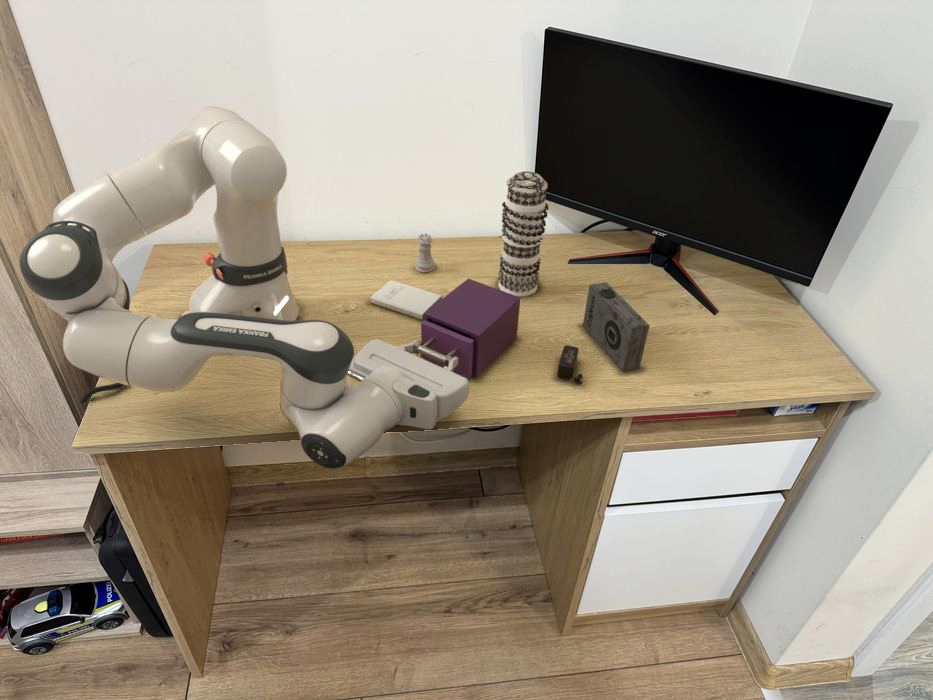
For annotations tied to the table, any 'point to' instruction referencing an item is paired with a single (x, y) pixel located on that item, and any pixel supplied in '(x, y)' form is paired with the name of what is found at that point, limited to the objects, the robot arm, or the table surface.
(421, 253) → the rook chess piece
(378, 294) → the hard drive
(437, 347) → the drawer
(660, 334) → the table surface
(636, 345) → the camera
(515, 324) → the file cabinet
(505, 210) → the decorative candle
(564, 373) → the wireless earbuds
